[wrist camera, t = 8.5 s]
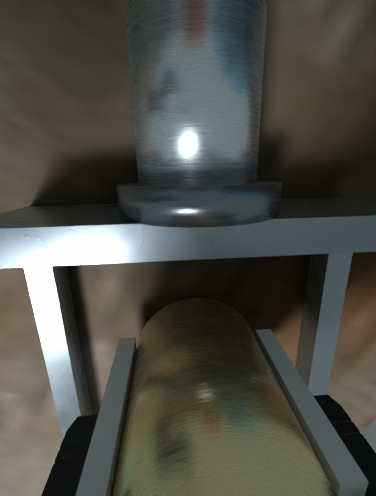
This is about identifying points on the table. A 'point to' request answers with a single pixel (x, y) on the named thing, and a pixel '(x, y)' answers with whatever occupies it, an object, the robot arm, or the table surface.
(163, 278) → the table surface
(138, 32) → the flange cradle
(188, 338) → the yellow jar
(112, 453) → the robot arm
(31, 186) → the table surface
